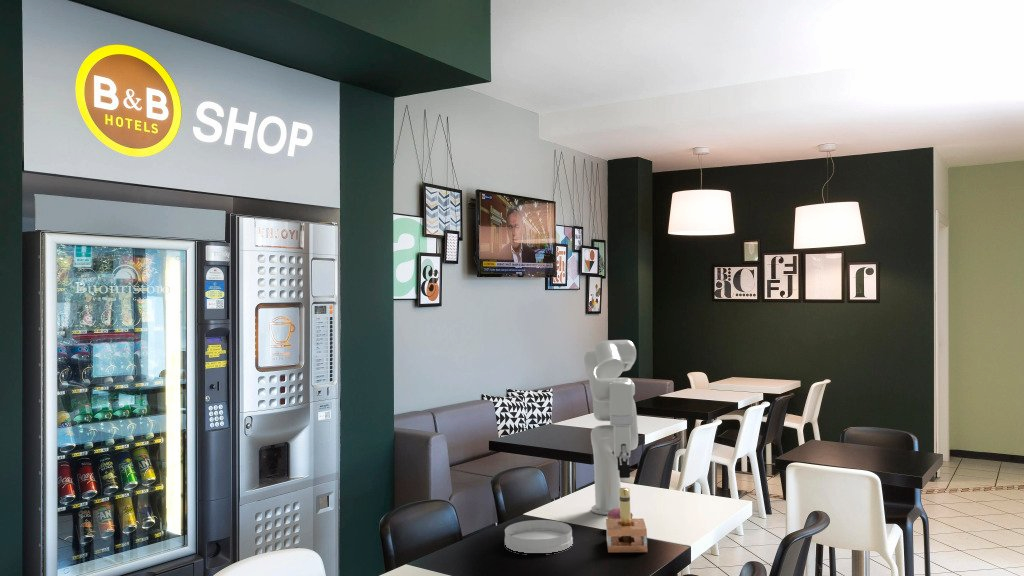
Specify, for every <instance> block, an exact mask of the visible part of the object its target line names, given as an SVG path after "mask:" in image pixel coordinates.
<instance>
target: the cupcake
mask: <svg viewBox="0 0 1024 576" xmlns="http://www.w3.org/2000/svg"><path fill="white" fill-rule="evenodd" d="M630 515H631V519H633V516H634V515H633V513H632V511H630ZM606 519H620V508H616V509H612V510H611V511H609V513H608V515H606Z"/></svg>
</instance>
